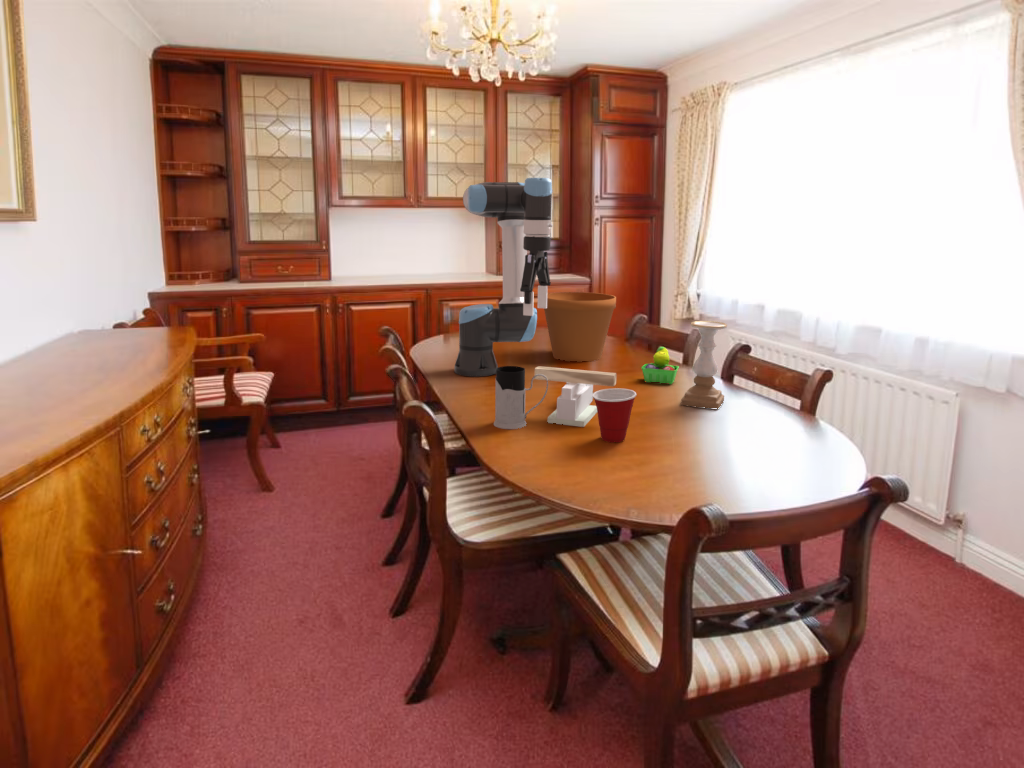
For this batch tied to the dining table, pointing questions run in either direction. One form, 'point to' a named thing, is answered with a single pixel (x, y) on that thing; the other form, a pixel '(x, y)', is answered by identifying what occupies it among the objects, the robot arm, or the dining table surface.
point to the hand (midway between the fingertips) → (535, 311)
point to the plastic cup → (614, 412)
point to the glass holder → (511, 397)
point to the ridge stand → (573, 406)
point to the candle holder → (705, 369)
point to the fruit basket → (660, 368)
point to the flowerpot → (578, 324)
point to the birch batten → (576, 376)
